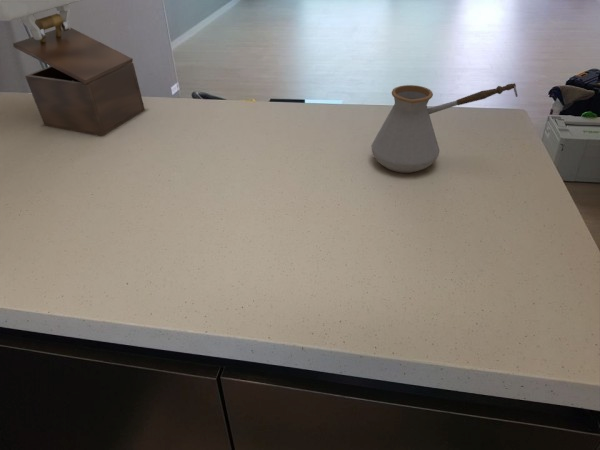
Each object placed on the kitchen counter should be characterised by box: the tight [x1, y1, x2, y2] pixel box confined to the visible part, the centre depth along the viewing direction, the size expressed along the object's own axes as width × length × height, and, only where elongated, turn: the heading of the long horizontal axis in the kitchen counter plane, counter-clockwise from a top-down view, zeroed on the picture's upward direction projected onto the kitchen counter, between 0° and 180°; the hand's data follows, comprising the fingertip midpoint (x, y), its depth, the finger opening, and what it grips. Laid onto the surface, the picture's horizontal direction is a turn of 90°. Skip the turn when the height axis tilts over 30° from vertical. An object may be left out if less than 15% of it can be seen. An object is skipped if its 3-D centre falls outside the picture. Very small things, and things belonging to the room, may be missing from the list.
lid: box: [12, 13, 134, 84], centre depth 89 cm, size 16×14×5 cm
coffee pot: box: [371, 82, 518, 174], centre depth 75 cm, size 21×12×15 cm, turn 78°
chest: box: [24, 62, 146, 137], centre depth 95 cm, size 16×14×11 cm
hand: (53, 34), depth 90 cm, fingers closed on lid, 5 cm apart
